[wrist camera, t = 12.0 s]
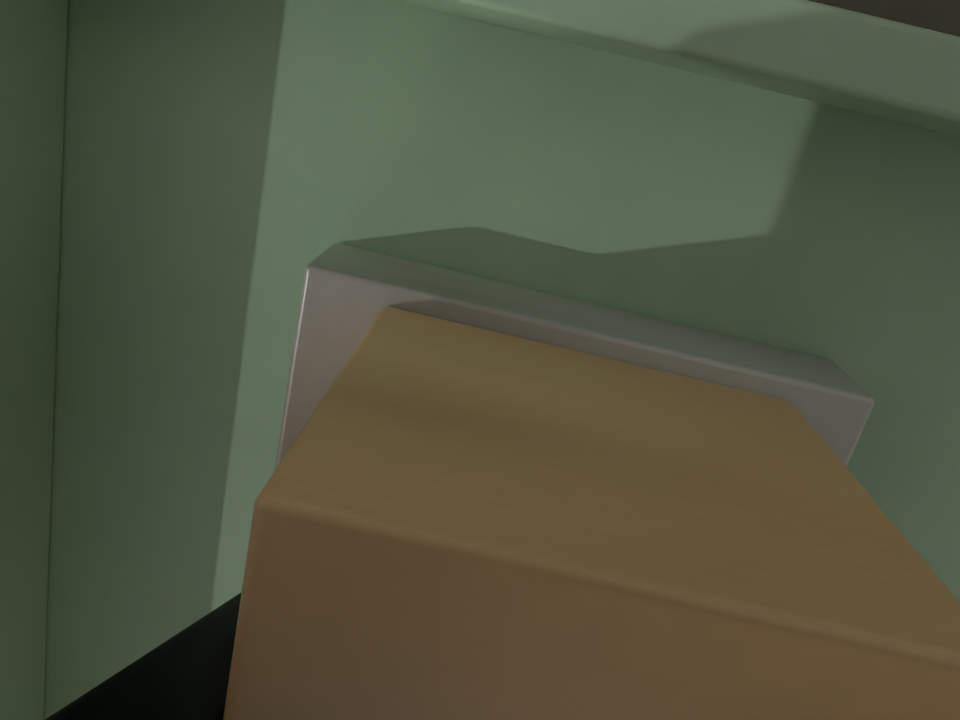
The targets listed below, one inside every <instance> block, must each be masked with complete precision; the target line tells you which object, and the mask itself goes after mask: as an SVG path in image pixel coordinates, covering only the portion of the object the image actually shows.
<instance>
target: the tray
mask: <svg viewBox="0 0 960 720" xmlns="http://www.w3.org/2000/svg"><path fill="white" fill-rule="evenodd" d="M335 243H340V244H344V245H348V246H353V247H357V248H361V249H365V250H369V251H374V252H378V253H382V254H386V255H391V256H395V257H399V258H403V259H407V260H412V261H416V262H420V263H424V264H429V265H433V266H437V267H441V268H445V269H450V270H454V271H458V272H462V273H467V274H471V275H475V276H479V277H483V278H488V279H492V280H496V281H500V282H505V283H509V284H513V285H517V286H521V287H526V288H530V289H534V290H538V291H543V292H547V293H551V294H555V295H559V296H564V297H568V298H572V299H576V300H580V301H585V302H589V303H593V304H597V305H602V306H606V307H610V308H614V309H618V310H623V311H627V312H631V313H635V314H640V315H644V316H648V317H652V318H656V319H661V320H665V321H669V322H673V323H678V324H682V325H686V326H690V327H694V328H699V329H703V330H707V331H711V332H716V333H720V334H724V335H728V336H732V337H737V338H741V339H745V340H749V341H754V342H758V343H762V344H766V345H770V346H775V347H779V348H783V349H787V350H791V351H796V352H800V353H804V354H808V355H813V356H817V357H821V358H825V359H829V360H831V361H833V362H834V363H835V364H836V365H837V366H839V367H840V368H841V369H842V370H843V371H844V372H845V373H846V374H847V375H849V376H850V377H851V378H852V379H853V380H854V381H855V382H856V383H857V384H859V385H860V386H861V387H862V388H863V389H864V390H865V391H866V392H868V393H869V394H870V395H871V396H872V397H873V398H874V400H875V401H874V406H873V408H872V411H871V413H870V415H869V417H868V420H867V422H866V424H865V426H864V429H863V431H862V433H861V435H860V438H859V440H858V442H857V445H856V447H855V449H854V451H853V454H852V456H851V458H850V460H849V463H848V465H847V469H848V470H849V471H850V472H851V473H852V474H853V476H854V477H855V478H856V479H857V480H858V482H859V483H860V484H861V485H862V486H863V488H864V489H865V490H866V491H867V492H868V493H869V495H870V496H871V497H872V498H873V499H874V501H875V502H876V503H877V504H878V505H879V507H880V508H881V509H882V510H883V511H884V512H885V514H886V515H887V516H888V517H889V518H890V520H891V521H892V522H893V523H894V524H895V526H896V527H897V528H898V529H899V530H900V532H901V533H902V534H903V535H904V536H905V537H906V539H907V540H908V541H909V542H910V543H911V545H912V546H913V547H914V548H915V549H916V551H917V552H918V553H919V554H920V555H921V556H922V558H923V559H924V560H925V561H926V562H927V564H928V565H929V566H930V567H931V568H932V570H933V571H934V572H935V573H936V574H937V575H938V577H939V578H940V579H941V580H942V581H943V583H944V584H945V585H946V586H947V587H948V589H949V590H950V591H951V592H952V593H953V595H954V596H955V597H956V598H957V599H958V600H959V602H960V37H959V36H955V35H950V34H946V33H942V32H938V31H934V30H930V29H926V28H921V27H917V26H913V25H909V24H905V23H901V22H897V21H892V20H888V19H884V18H880V17H876V16H872V15H868V14H864V13H859V12H855V11H851V10H847V9H843V8H839V7H835V6H830V5H826V4H822V3H818V2H814V1H810V0H0V720H45V719H47V718H48V717H50V716H51V715H53V714H54V713H56V712H57V711H59V710H61V709H62V708H64V707H65V706H67V705H68V704H70V703H71V702H73V701H74V700H76V699H77V698H79V697H81V696H82V695H84V694H85V693H87V692H88V691H90V690H91V689H93V688H94V687H96V686H98V685H99V684H101V683H102V682H104V681H105V680H107V679H108V678H110V677H111V676H113V675H114V674H116V673H118V672H119V671H121V670H122V669H124V668H125V667H127V666H128V665H130V664H131V663H133V662H134V661H136V660H138V659H139V658H141V657H142V656H144V655H145V654H147V653H148V652H150V651H151V650H153V649H155V648H156V647H158V646H159V645H161V644H162V643H164V642H165V641H167V640H168V639H170V638H171V637H173V636H175V635H176V634H178V633H179V632H181V631H182V630H184V629H185V628H187V627H188V626H190V625H191V624H193V623H195V622H196V621H198V620H199V619H201V618H202V617H204V616H205V615H207V614H208V613H210V612H211V611H213V610H215V609H216V608H218V607H219V606H221V605H222V604H224V603H225V602H227V601H228V600H230V599H232V598H233V597H235V596H236V595H238V594H239V593H241V592H242V586H243V579H244V572H245V565H246V558H247V551H248V544H249V537H250V531H251V524H252V517H253V510H254V503H255V500H256V499H257V497H258V496H259V494H260V493H261V491H262V490H263V488H264V487H265V485H266V483H267V482H268V480H269V479H270V477H271V476H272V474H273V473H274V470H275V463H276V457H277V450H278V444H279V437H280V431H281V424H282V417H283V411H284V404H285V398H286V391H287V385H288V378H289V372H290V365H291V358H292V352H293V345H294V339H295V332H296V326H297V319H298V313H299V306H300V300H301V293H302V286H303V280H304V273H305V268H306V267H307V265H308V264H309V263H310V262H312V261H313V260H314V259H315V258H317V257H318V256H319V255H320V254H322V253H323V252H324V251H325V250H326V249H328V248H329V247H330V246H331V245H333V244H335Z"/></svg>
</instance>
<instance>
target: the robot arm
mask: <svg viewBox="0 0 960 720" xmlns="http://www.w3.org/2000/svg"><path fill="white" fill-rule="evenodd" d="M241 593H242V592H241ZM241 593H239V594H238V595H236V596H235V597H233V598H232V599H230V600H228V601H227V602H225V603H224V604H222V605H221V606H219V607H218V608H216V609H215V610H213V611H211V612H210V613H208V614H207V615H205V616H204V617H202V618H201V619H199V620H198V621H196V622H195V623H193V624H191V625H190V626H188V627H187V628H185V629H184V630H182V631H181V632H179V633H178V634H176V635H175V636H173V637H171V638H170V639H168V640H167V641H165V642H164V643H162V644H161V645H159V646H158V647H156V648H155V649H153V650H151V651H150V652H148V653H147V654H145V655H144V656H142V657H141V658H139V659H138V660H136V661H134V662H133V663H131V664H130V665H128V666H127V667H125V668H124V669H122V670H121V671H119V672H118V673H116V674H114V675H113V676H111V677H110V678H108V679H107V680H105V681H104V682H102V683H101V684H99V685H98V686H96V687H94V688H93V689H91V690H90V691H88V692H87V693H85V694H84V695H82V696H81V697H79V698H77V699H76V700H74V701H73V702H71V703H70V704H68V705H67V706H65V707H64V708H62V709H61V710H59V711H57V712H56V713H54V714H53V715H51V716H50V717H48V718H47V719H45V720H223V717H224V710H225V703H226V696H227V689H228V682H229V675H230V668H231V662H232V655H233V648H234V641H235V634H236V627H237V620H238V613H239V606H240V600H241Z"/></svg>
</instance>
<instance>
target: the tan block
mask: <svg viewBox="0 0 960 720" xmlns="http://www.w3.org/2000/svg"><path fill="white" fill-rule="evenodd" d="M874 401H875V400H874V398H873V397H872V396H871V395H870V394H869V393H868V392H866V391H865V390H864V389H863V388H862V387H861V386H860V385H859V384H857V383H856V382H855V381H854V380H853V379H852V378H851V377H850V376H849V375H847V374H846V373H845V372H844V371H843V370H842V369H841V368H840V367H839V366H837V365H836V364H835V363H834V362H833V361H831V360H829V359H825V358H821V357H817V356H813V355H808V354H804V353H800V352H796V351H791V350H787V349H783V348H779V347H775V346H770V345H766V344H762V343H758V342H754V341H749V340H745V339H741V338H737V337H732V336H728V335H724V334H720V333H716V332H711V331H707V330H703V329H699V328H694V327H690V326H686V325H682V324H678V323H673V322H669V321H665V320H661V319H656V318H652V317H648V316H644V315H640V314H635V313H631V312H627V311H623V310H618V309H614V308H610V307H606V306H602V305H597V304H593V303H589V302H585V301H580V300H576V299H572V298H568V297H564V296H559V295H555V294H551V293H547V292H543V291H538V290H534V289H530V288H526V287H521V286H517V285H513V284H509V283H505V282H500V281H496V280H492V279H488V278H483V277H479V276H475V275H471V274H467V273H462V272H458V271H454V270H450V269H445V268H441V267H437V266H433V265H429V264H424V263H420V262H416V261H412V260H407V259H403V258H399V257H395V256H391V255H386V254H382V253H378V252H374V251H369V250H365V249H361V248H357V247H353V246H348V245H344V244H340V243H335V244H333V245H331V246H330V247H329V248H328V249H326V250H325V251H324V252H323V253H322V254H320V255H319V256H318V257H317V258H315V259H314V260H313V261H312V262H310V263H309V264H308V265H307V267H306V268H305V273H304V280H303V286H302V293H301V300H300V306H299V313H298V319H297V326H296V332H295V339H294V345H293V352H292V358H291V365H290V372H289V378H288V385H287V391H286V398H285V404H284V411H283V417H282V424H281V431H280V437H279V444H278V450H277V457H276V463H275V470H274V473H273V474H272V476H271V477H270V479H269V480H268V482H267V483H266V485H265V487H264V488H263V490H262V491H261V493H260V494H259V496H258V497H257V499H256V500H255V503H254V510H253V517H252V524H251V531H250V537H249V544H248V551H247V558H246V565H245V572H244V579H243V586H242V593H241V600H240V606H239V613H238V620H237V627H236V634H235V641H234V648H233V655H232V662H231V668H230V675H229V682H228V689H227V696H226V703H225V710H224V717H223V720H960V602H959V600H958V599H957V598H956V597H955V596H954V595H953V593H952V592H951V591H950V590H949V589H948V587H947V586H946V585H945V584H944V583H943V581H942V580H941V579H940V578H939V577H938V575H937V574H936V573H935V572H934V571H933V570H932V568H931V567H930V566H929V565H928V564H927V562H926V561H925V560H924V559H923V558H922V556H921V555H920V554H919V553H918V552H917V551H916V549H915V548H914V547H913V546H912V545H911V543H910V542H909V541H908V540H907V539H906V537H905V536H904V535H903V534H902V533H901V532H900V530H899V529H898V528H897V527H896V526H895V524H894V523H893V522H892V521H891V520H890V518H889V517H888V516H887V515H886V514H885V512H884V511H883V510H882V509H881V508H880V507H879V505H878V504H877V503H876V502H875V501H874V499H873V498H872V497H871V496H870V495H869V493H868V492H867V491H866V490H865V489H864V488H863V486H862V485H861V484H860V483H859V482H858V480H857V479H856V478H855V477H854V476H853V474H852V473H851V472H850V471H849V470H848V469H847V465H848V463H849V460H850V458H851V456H852V454H853V451H854V449H855V447H856V445H857V442H858V440H859V438H860V435H861V433H862V431H863V429H864V426H865V424H866V422H867V420H868V417H869V415H870V413H871V411H872V408H873V406H874Z"/></svg>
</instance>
